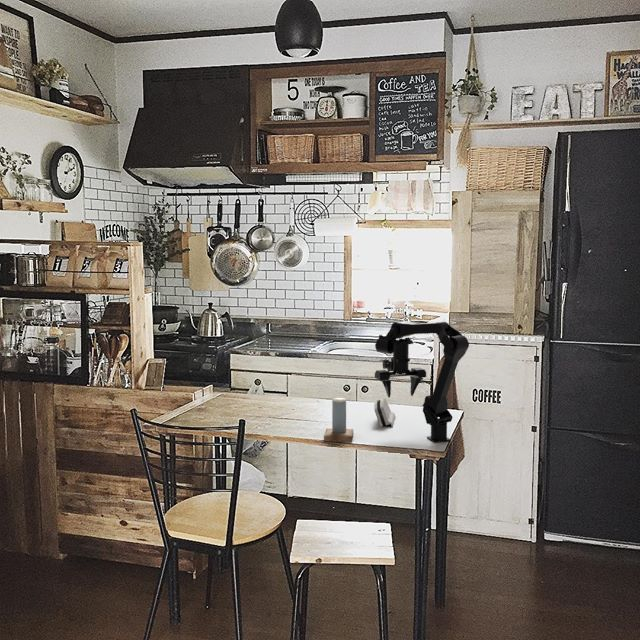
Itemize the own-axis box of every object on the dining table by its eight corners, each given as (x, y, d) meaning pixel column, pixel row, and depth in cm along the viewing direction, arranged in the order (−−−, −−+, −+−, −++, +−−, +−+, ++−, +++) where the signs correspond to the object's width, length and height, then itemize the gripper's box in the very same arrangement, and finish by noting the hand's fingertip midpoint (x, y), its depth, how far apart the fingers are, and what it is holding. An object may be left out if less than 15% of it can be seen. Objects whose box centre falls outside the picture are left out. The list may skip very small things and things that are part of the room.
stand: (353, 434, 284) (353, 428, 284) (352, 441, 274) (352, 435, 274) (326, 433, 285) (326, 428, 285) (324, 441, 275) (324, 435, 275)
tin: (348, 432, 279) (349, 399, 277) (337, 434, 276) (337, 401, 275) (341, 429, 283) (341, 397, 282) (329, 431, 280) (329, 398, 279)
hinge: (393, 427, 294) (384, 402, 294) (381, 431, 295) (372, 406, 295) (395, 416, 311) (387, 393, 310) (384, 420, 312) (376, 397, 311)
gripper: (414, 350, 296) (414, 390, 298) (369, 353, 291) (369, 394, 293) (427, 355, 286) (426, 396, 288) (380, 357, 280) (380, 400, 282)
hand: (400, 396), depth 288 cm, fingers open, 9 cm apart
